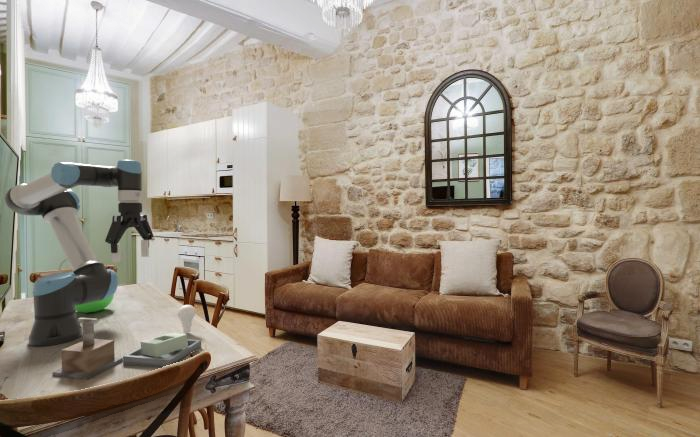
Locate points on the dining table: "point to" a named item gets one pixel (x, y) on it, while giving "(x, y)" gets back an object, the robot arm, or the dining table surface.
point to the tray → (167, 359)
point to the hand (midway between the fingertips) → (131, 259)
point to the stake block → (87, 354)
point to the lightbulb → (186, 317)
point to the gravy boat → (94, 305)
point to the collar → (164, 344)
